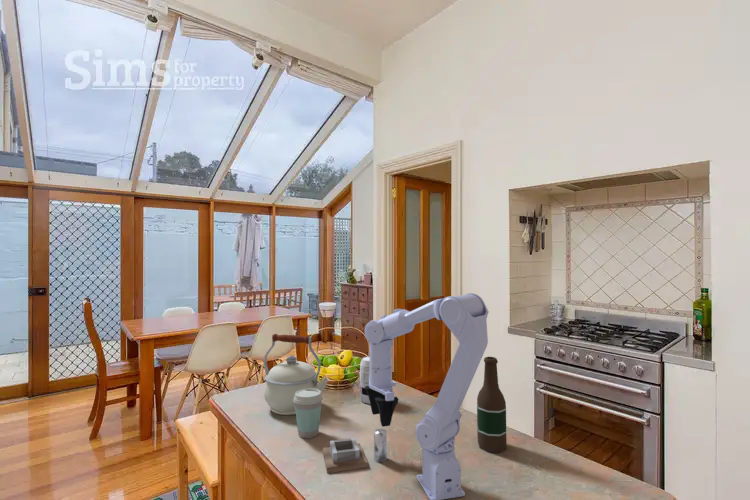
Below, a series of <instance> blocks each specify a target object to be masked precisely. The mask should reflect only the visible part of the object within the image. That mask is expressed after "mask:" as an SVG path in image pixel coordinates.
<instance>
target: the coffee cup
mask: <svg viewBox="0 0 750 500" xmlns="http://www.w3.org/2000/svg"><path fill="white" fill-rule="evenodd" d="M323 400H324V397H323V394H322V392H321V391H320V390H318V389H313V388H308V389H302V390H299V391H297V392H296V393H295V396H294V400H293V401H294V402H295V410H296V414H295V417H296V426H297V435H298V437H300V438H303V439H311V438H315V437H316V436H318V435H319V431H320V430H319V429H320V420H321V419H320V418H321V410H322V401H323Z"/></svg>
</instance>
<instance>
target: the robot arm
mask: <svg viewBox="0 0 750 500" xmlns="http://www.w3.org/2000/svg"><path fill="white" fill-rule="evenodd" d="M489 312H490V311H489V309H488V307H487V305H486V303H485V301H484V300H483V298H482V297H481V296H480V295H478V294H476V293H473V292H470V293H465V294H461V295H456V296H454V295H450V296H446V297H444V298H443V297H442V298H438V299H434V300H433V301H430V302H428V303H426V304H424V305H422V306H420V307H417V308H415V309H413V310H411V311H409V310H407V309H402V308H395V309H394V310H393V313H391V314H388V315H387V314H384V315H382V316H380V319H376V320H375V319H372V320H370V321H369V322H367V323H366V325H365V326H364V337H365V339H366V341H368V342H369V345H368V346H369V350H368V352H369V354H368V355H369V357H370V376H369V386H365V390H366V392H367V394H368V397H369V400H370V404H369V405H370V410H371V413H372V415H379V420H380V425H381V427H384V428H385V427H390V426H391V423H392V419H393V415H394V411H395V409H396V406H397V405H398V403H399V398H398V397H397V396H395V392H394V389H393V388H394V387H396V386H397V382H396V381H394V380H392V379H393V378H392V377H393V375H392V374H393V372H392V371H393V370H392V369H393V366H392V365H393V364H392V358H393V357H392V354H393V353H392V347H393V346H394V339H395V338H397V337H401V336H403V335H406V334H409V333H411V332H412V331H413V330H414V329H415V326H416V325H417V324H420V323H423V322H426V321H429V320H433V319H434V318H436V319H437V321H441V320H442V322H443V323H444V324H445V326H446V327H447V328H448V330H450V332H451V333H452V335H453V336H454V337H455V338H456V340H457V341H458V343H459V344H458V347H457V349H456V352H455V354H454V356H453V359H452V361H451V364H450V366H449V368H448V371H447V373H446V376H445V378H444V380H443V383H442V385H441V388H440V390H439V392H438V395H437V397H436V400H435V401H434V404H433V405H432V407H430V408H429V410H428V411H427V412H426V413H425V414H424V417H423V418H422V420H420V421H419V422H418V423H417V424H416V426H415V437H416V440H417V442H418V444H419V445H420V448H421V451H422V452H421V453H422V454H421V461H422V462H421V464H422V465H421V466H422V469H421V470H422V472H421V474H416V479H417V481H418V482H419V484H420V486H421V487H422V489H423V491H424V493H425V494H426V495H427V497H428V499H429V500H448V499H455V498H462V497H465V496H466V492H465V491H464V490H463V489H462V468H461V467H462V466H461V464H460V463H459V461H458V460H457V459H458V458H457V457H456V452H455V442H456V439H455V438H456V436H458V434H459V433H460V429H461V426H460V425H461V423H460V421H461V417H462V416H463V415H462V413H461V411H460V410H461V407H462V404H463V402H464V399H465V397H466V396H467V392H469V388H470V386H471V384H472V381H473V379H474V377H475V375H476V372H477V370H478V367H479V366H480V362H481V360H482V358H483V356H484V354H485V352H486V349H487V347H488V344H489V343H488V342H489V338H488V326H487V325H488V324H487V318H488V315H489Z"/></svg>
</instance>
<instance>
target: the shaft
mask: <svg viewBox="0 0 750 500" xmlns="http://www.w3.org/2000/svg"><path fill="white" fill-rule="evenodd" d="M387 432H388V431H387V430H386V429H384V428H376V429H375V430H374V431H373V451H374V452H373V459H374V461H375V462H376V463H385V462H386V461H387V460H388V458H387V457H388V456H387V455H388V454H387V453H388V451H387V444H388V441H387V438H388V437H387V435H388V434H387Z"/></svg>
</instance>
